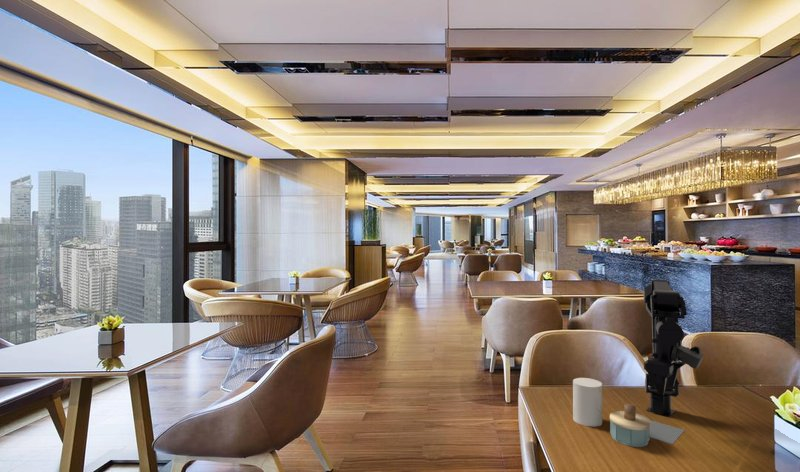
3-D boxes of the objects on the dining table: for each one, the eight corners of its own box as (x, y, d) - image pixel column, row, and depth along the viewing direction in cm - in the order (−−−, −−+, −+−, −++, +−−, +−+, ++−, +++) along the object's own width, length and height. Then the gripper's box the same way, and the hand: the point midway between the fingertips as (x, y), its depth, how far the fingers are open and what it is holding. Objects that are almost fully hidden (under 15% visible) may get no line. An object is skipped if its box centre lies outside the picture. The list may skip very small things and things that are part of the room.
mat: (639, 418, 132) (639, 417, 132) (684, 431, 124) (684, 430, 124) (624, 430, 124) (624, 429, 124) (672, 445, 115) (672, 444, 115)
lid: (617, 411, 126) (617, 396, 126) (655, 422, 118) (655, 405, 118) (604, 421, 119) (604, 405, 119) (643, 433, 111) (643, 416, 111)
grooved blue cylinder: (618, 429, 125) (618, 412, 125) (653, 440, 118) (653, 422, 118) (606, 439, 119) (606, 421, 119) (641, 451, 112) (641, 432, 112)
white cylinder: (605, 428, 125) (605, 387, 125) (575, 426, 127) (575, 386, 127) (598, 417, 133) (598, 378, 133) (570, 415, 135) (570, 377, 135)
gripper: (691, 347, 109) (691, 408, 109) (708, 335, 122) (708, 389, 122) (643, 339, 117) (643, 396, 117) (664, 328, 130) (664, 380, 130)
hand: (666, 390), depth 122 cm, fingers open, 9 cm apart
